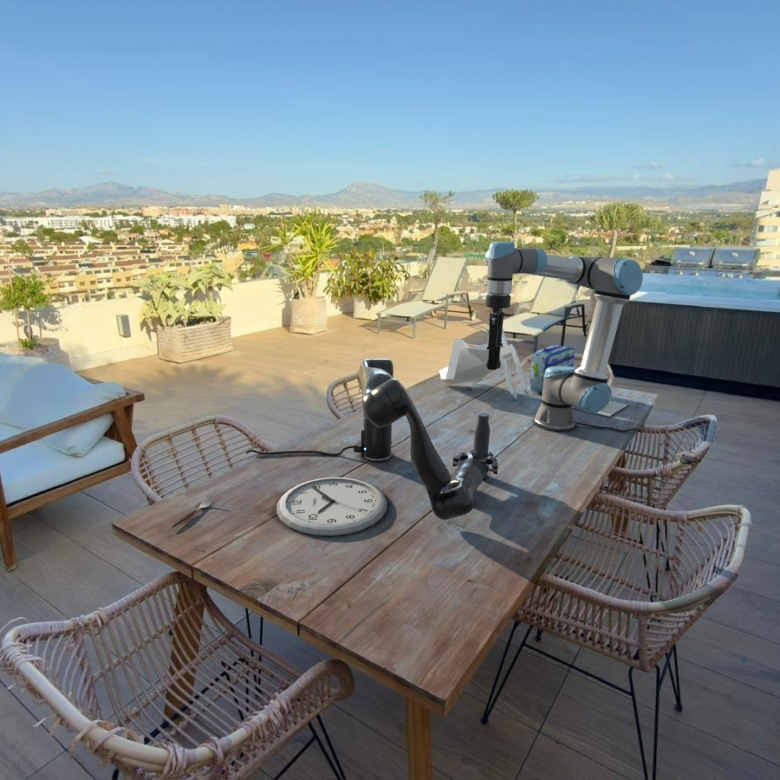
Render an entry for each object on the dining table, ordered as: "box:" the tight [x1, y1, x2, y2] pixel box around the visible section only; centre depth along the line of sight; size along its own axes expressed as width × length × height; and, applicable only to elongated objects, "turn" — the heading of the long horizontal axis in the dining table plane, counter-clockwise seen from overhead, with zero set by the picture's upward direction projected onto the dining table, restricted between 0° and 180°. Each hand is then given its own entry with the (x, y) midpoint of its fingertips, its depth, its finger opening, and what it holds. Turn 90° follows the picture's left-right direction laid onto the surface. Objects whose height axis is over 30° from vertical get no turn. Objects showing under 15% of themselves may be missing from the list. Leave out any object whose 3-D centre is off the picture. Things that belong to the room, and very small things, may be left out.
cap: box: [486, 360, 502, 370], centre depth 167 cm, size 4×4×2 cm
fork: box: [171, 493, 217, 529], centre depth 137 cm, size 3×16×2 cm, turn 160°
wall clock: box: [276, 476, 388, 537], centre depth 142 cm, size 30×2×30 cm
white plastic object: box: [438, 328, 531, 400], centre depth 245 cm, size 37×45×31 cm
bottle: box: [473, 412, 491, 480], centre depth 158 cm, size 4×4×20 cm
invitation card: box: [573, 400, 629, 418], centre depth 226 cm, size 21×1×15 cm
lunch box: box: [529, 345, 575, 394], centre depth 245 cm, size 26×11×21 cm, turn 134°
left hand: (482, 453), depth 162 cm, fingers closed on bottle, 4 cm apart
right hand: (493, 367), depth 168 cm, fingers closed on cap, 4 cm apart
